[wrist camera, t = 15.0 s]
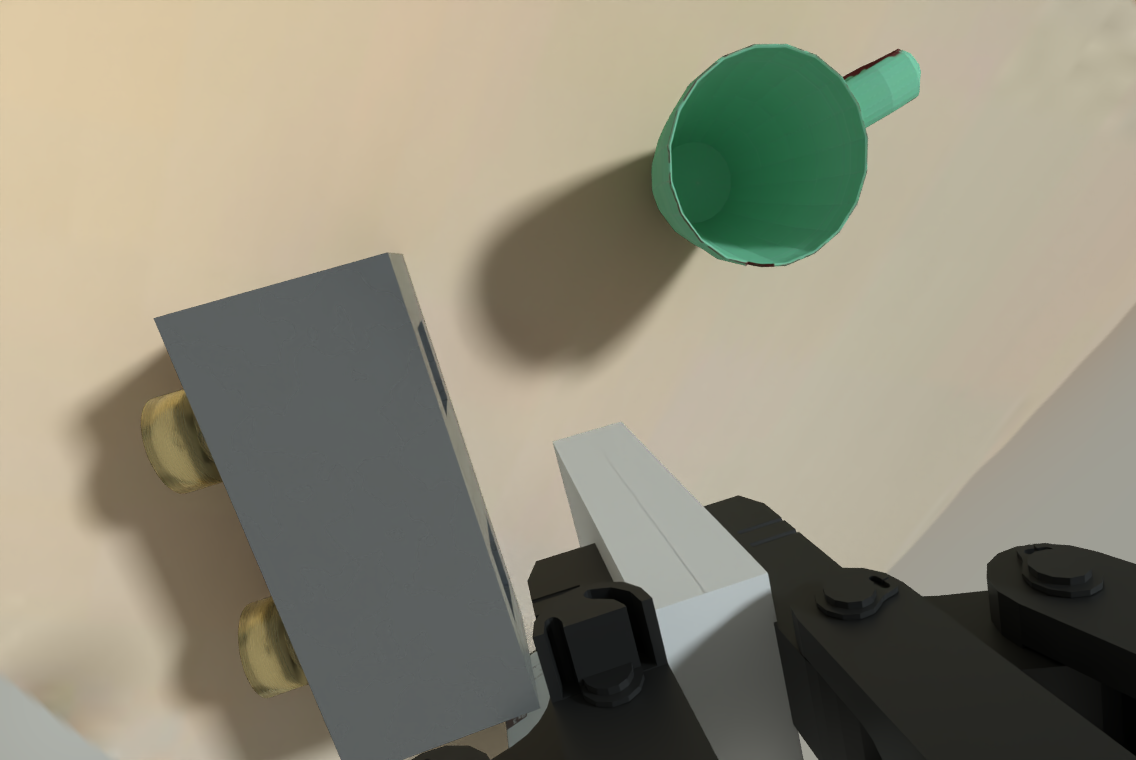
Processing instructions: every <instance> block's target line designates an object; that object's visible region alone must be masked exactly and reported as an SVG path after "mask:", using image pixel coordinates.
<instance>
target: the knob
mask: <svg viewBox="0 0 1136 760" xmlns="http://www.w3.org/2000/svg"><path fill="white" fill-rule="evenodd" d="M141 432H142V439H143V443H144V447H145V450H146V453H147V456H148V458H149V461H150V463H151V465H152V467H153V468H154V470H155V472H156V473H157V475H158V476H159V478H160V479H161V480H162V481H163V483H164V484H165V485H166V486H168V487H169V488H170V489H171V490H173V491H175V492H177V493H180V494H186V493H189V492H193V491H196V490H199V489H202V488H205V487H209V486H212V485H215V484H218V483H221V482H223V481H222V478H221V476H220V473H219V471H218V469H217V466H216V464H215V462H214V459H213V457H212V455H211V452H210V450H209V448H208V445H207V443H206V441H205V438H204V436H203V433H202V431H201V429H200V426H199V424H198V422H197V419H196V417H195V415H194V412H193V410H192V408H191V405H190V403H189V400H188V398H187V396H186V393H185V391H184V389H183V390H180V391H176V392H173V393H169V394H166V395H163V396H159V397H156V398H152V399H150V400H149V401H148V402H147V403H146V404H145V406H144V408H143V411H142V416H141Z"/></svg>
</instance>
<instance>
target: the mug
mask: <svg viewBox="0 0 1136 760" xmlns="http://www.w3.org/2000/svg"><path fill="white" fill-rule="evenodd" d="M920 74H921V71H920V67H919V64H918V63H917V61H916V60H915V58H914V57H913V56H912V55H911V54H910V53H908V52H906V51H903V50H900V49H897V50H895V51H893V52H891V53H889V54H887V55H885V56H883V57H881V58H879V59H878V60H876V61H874V62H871V63H869V64H867V65H864V66H862V67H860V68H858V69H856V70H855V71H853V72H851V73H849V74H847V75H846V76H844V77H842V76H841V75H840V74H839V73H838V72H836V71H835V70H834V69H833V68H832V67H830V66H829V65H828V64H827V63H826V62H824V61H823V60H822V59H821V58H820V57H818V56H817V55H815V54H813V53H810V52H807V51H804V50H801V49H799V48H796V47H793V46H790V45H788V44H753V45H751V46H748V47H746V48H743V49H741V50H738V51H735V52H733V53H730V54H728V55H725V56H723V57H721V58H720V59H718V60H717V61H716V62H715V63H714V64H712V65H711V66H710V67H709V68H708V69H707V70H705V71H704V72H703V73H702V74H701V75H700V76H698V77H697V78H696V79H695V80H694V81H692V82H691V83H690V84H689V86H688V87H687V89H686V90H685V92H684V93H683V95H682V97H681V98H680V100H679V102H678V103H677V105H676V107H675V108H674V110H673V111H672V113H671V115H670V117H669V119H668V121H667V123H666V125H665V126H664V128H663V131H662V133H661V135H660V137H659V140H658V143H657V147H656V151H655V155H654V159H653V162H652V171H651V173H652V192H653V195H654V198H655V201H656V204H657V206H658V209H659V210H660V212H661V213H662V215H663V216H664V217H665V219H666V220H667V221H668V223H669V224H670V225H671V227H672V228H673V229H674V231H675V232H677V233H678V234H680V235H681V236H683V237H684V238H685V239H687V240H688V241H690V242H691V243H693V244H694V245H696V246H698V247H700V248H702V249H703V250H705V251H706V252H708V253H709V254H711V255H712V256H714V257H715V258H717V259H720V260H724V261H728V262H732V263H737V264H741V265H745V266H746V265H747V264H749V265H753V266H758V267H775V266H787V265H789V264H791V263H794V262H796V261H798V260H801V259H803V258H805V257H808V256H810V255H812V254H815V253H816V252H817V251H818V250H819V249H821V248H822V247H823V246H824V245H825V244H826V243H828V242H829V241H830V240H831V239H832V238H833V237H834V236H836V235H837V234H838V233H839V232H840V230H841V229H842V227H843V226H844V224H845V223H846V221H847V219H848V218H849V216H850V215H851V213H852V212H853V210H854V208H855V207H856V205H857V203H858V200H859V197H860V193H861V190H862V187H863V183H864V180H865V177H866V173H867V150H868V136H867V132H866V129H865V128H866V127H868V126H870V125H872V124H873V123H875V122H877V121H878V120H880V119H882V118H884V117H885V116H887V115H889V114H891V113H892V112H894V111H895V110H897V109H899V108H900V107H902V106H903V105H905V104H907V103H908V102H910V101H912V100H913V99H915V98H916V97H917V96H918V94H919V90H920Z"/></svg>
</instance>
